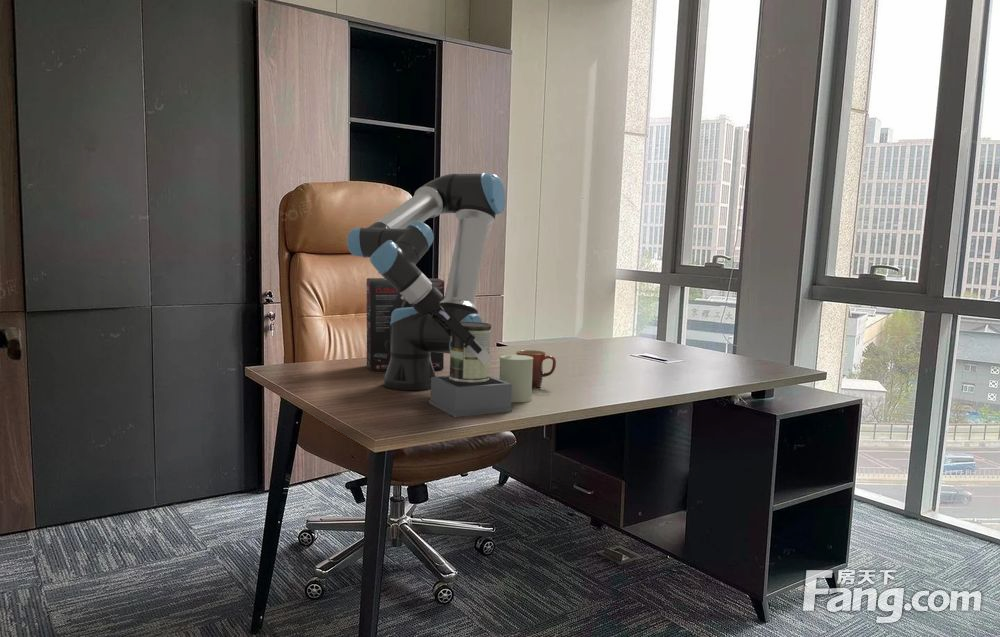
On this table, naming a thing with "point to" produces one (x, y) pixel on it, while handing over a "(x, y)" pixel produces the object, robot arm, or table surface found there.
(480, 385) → the box
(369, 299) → the headset box
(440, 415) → the table surface
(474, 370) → the coffee can
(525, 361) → the can
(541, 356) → the mug
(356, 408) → the table surface
